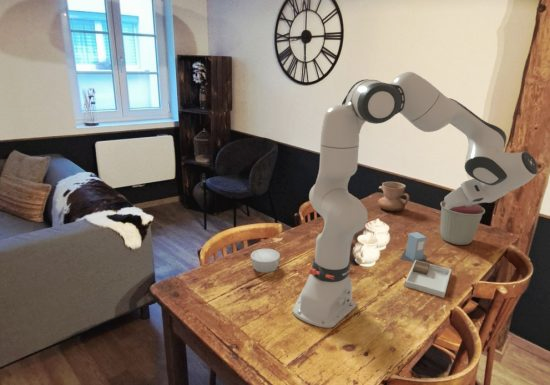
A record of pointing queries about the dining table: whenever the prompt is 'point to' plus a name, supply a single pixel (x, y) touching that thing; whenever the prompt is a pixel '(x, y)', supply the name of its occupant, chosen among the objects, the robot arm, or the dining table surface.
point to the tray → (429, 280)
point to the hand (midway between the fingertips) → (456, 206)
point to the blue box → (415, 246)
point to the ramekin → (265, 260)
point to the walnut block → (421, 267)
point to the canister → (460, 223)
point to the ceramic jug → (392, 196)
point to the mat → (410, 259)
